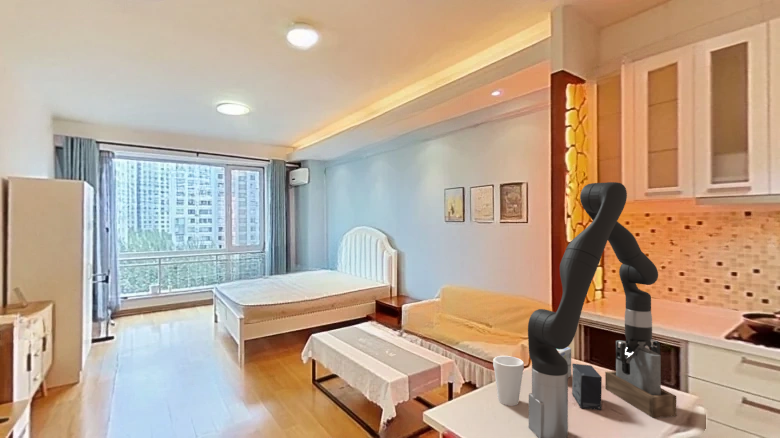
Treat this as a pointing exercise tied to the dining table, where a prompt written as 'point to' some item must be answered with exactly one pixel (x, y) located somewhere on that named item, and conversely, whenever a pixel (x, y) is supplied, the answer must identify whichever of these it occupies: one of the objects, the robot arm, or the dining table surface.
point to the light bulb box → (566, 357)
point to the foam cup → (508, 378)
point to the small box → (586, 386)
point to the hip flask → (643, 370)
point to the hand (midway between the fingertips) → (638, 373)
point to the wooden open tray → (641, 397)
